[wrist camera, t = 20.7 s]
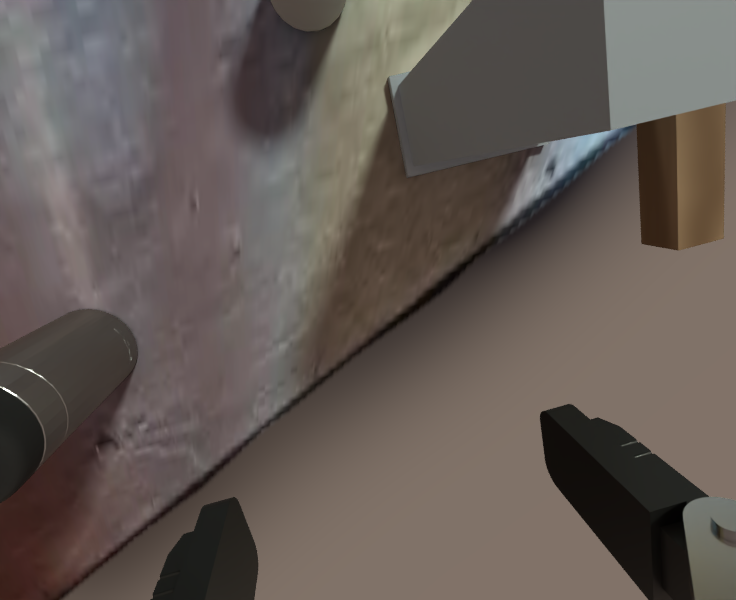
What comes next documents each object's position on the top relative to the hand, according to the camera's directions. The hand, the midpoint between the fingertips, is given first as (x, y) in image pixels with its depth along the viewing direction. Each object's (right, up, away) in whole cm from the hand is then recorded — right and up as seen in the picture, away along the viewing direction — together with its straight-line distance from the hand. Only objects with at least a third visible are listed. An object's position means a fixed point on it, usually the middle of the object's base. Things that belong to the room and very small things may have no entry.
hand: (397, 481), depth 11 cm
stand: (+10, +25, +34) cm, 44 cm away
